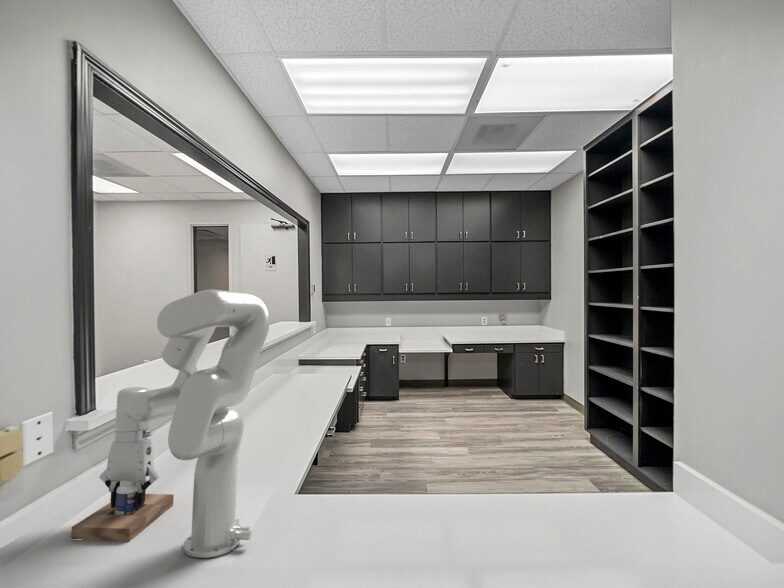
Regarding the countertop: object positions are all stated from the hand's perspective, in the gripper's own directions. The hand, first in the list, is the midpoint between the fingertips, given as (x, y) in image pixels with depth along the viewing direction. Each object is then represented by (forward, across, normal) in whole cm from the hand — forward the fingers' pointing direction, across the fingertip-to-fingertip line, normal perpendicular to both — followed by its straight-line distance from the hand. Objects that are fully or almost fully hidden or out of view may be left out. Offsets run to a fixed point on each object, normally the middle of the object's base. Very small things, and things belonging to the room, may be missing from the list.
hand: (127, 505), depth 112 cm
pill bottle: (+3, 0, 0) cm, 3 cm away
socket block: (+4, 0, 0) cm, 4 cm away
